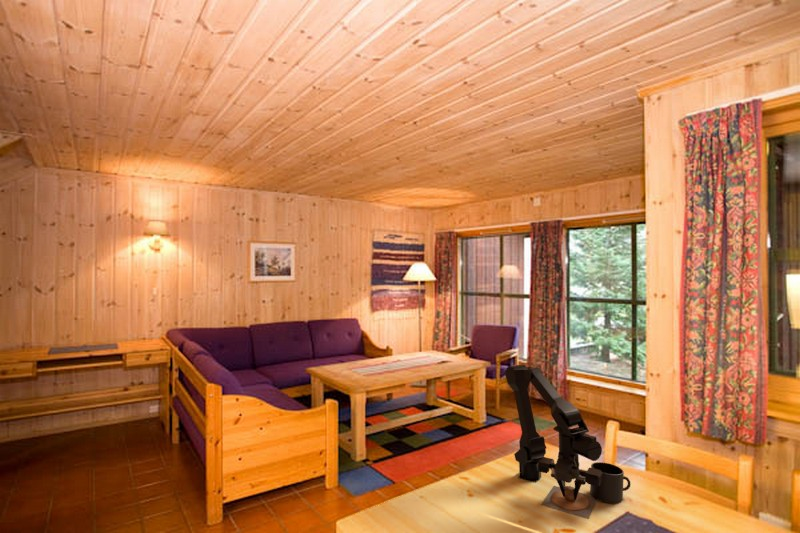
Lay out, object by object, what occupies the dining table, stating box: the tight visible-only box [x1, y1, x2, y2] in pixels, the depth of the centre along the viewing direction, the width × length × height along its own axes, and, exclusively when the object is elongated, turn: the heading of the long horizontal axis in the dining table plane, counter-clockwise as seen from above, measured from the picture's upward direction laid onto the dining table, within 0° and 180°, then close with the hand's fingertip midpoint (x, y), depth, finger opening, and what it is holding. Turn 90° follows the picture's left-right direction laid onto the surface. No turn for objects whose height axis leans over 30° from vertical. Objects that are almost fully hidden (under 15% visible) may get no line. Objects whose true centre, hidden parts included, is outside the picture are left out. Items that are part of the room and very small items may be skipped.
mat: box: [540, 485, 598, 520], centre depth 137 cm, size 14×14×1 cm
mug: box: [589, 461, 632, 505], centre depth 140 cm, size 9×12×9 cm
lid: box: [551, 485, 589, 511], centre depth 138 cm, size 11×11×4 cm
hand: (569, 497), depth 138 cm, fingers closed on lid, 3 cm apart
